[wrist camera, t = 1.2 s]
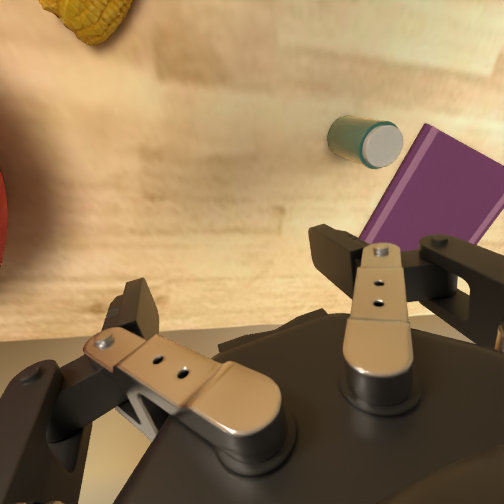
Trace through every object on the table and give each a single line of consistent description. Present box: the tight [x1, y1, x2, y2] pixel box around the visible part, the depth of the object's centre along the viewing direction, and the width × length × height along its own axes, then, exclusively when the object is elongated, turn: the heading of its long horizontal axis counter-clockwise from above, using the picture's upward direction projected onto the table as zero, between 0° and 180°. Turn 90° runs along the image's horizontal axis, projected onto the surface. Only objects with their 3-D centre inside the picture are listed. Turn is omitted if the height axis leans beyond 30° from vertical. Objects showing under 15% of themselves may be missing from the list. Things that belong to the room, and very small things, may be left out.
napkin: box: [358, 123, 504, 252], centre depth 43 cm, size 20×20×1 cm
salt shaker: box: [328, 116, 403, 169], centre depth 32 cm, size 4×4×8 cm
